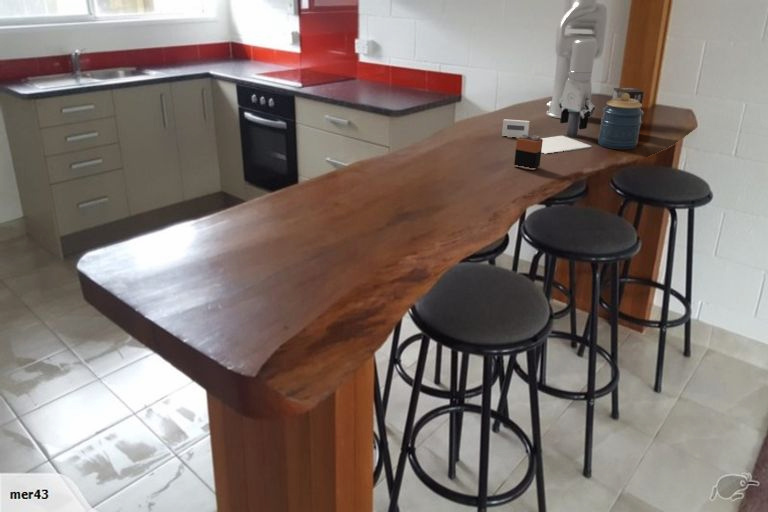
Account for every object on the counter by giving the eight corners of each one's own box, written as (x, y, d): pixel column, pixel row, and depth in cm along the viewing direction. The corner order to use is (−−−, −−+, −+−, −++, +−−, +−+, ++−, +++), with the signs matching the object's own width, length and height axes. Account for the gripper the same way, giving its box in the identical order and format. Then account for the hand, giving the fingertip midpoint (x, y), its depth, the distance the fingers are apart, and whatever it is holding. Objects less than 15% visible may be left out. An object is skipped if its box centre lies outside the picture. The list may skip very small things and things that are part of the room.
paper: (516, 143, 212) (516, 141, 212) (561, 136, 220) (562, 135, 220) (544, 154, 200) (545, 153, 200) (591, 147, 208) (591, 146, 208)
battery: (534, 171, 184) (538, 139, 180) (513, 167, 188) (516, 135, 183) (539, 167, 188) (543, 135, 183) (519, 163, 191) (522, 132, 187)
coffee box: (631, 132, 226) (639, 87, 219) (636, 137, 220) (644, 91, 213) (606, 131, 227) (613, 87, 220) (610, 136, 221) (618, 90, 214)
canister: (596, 148, 207) (604, 95, 199) (598, 138, 218) (606, 88, 210) (637, 152, 203) (647, 98, 195) (636, 142, 214) (646, 90, 206)
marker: (563, 135, 222) (567, 104, 217) (572, 133, 224) (576, 103, 219) (571, 137, 219) (575, 106, 214) (579, 136, 220) (584, 105, 216)
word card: (502, 135, 221) (503, 119, 218) (527, 137, 218) (529, 121, 216) (501, 136, 220) (503, 120, 217) (527, 138, 217) (529, 121, 215)
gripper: (554, 73, 217) (549, 121, 225) (589, 81, 203) (581, 132, 211) (571, 72, 220) (564, 119, 228) (606, 79, 206) (598, 130, 214)
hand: (573, 125), depth 219 cm, fingers open, 9 cm apart
